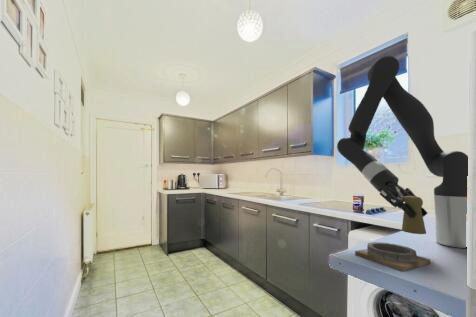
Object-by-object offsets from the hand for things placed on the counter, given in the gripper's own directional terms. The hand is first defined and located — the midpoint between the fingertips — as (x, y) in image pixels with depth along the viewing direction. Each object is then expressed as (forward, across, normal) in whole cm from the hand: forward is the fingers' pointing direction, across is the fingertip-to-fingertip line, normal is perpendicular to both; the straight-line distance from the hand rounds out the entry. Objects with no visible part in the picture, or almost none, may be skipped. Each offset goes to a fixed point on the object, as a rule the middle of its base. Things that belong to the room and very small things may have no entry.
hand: (419, 215), depth 69 cm
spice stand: (+7, -12, +9) cm, 17 cm away
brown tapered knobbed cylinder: (+2, 0, +5) cm, 6 cm away
